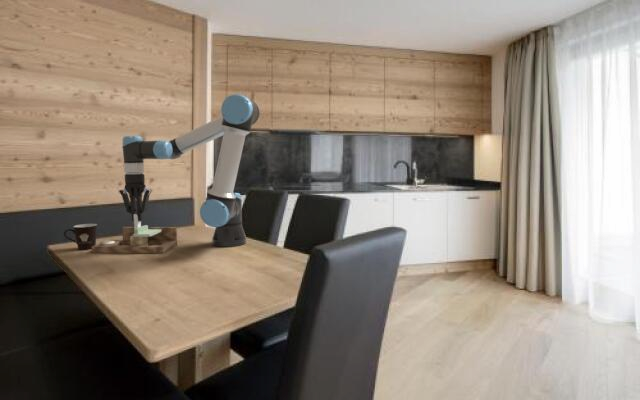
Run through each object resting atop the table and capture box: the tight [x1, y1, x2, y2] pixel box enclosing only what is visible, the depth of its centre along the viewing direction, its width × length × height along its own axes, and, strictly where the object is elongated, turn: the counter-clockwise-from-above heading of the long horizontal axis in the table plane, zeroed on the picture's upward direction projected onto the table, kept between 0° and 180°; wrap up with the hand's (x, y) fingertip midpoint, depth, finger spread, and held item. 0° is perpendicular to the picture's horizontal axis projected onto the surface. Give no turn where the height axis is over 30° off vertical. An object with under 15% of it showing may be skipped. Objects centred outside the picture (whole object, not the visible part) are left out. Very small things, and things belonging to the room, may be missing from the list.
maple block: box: [130, 236, 148, 245], centre depth 166 cm, size 5×5×6 cm
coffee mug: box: [63, 223, 98, 251], centre depth 167 cm, size 12×9×10 cm
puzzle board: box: [91, 226, 178, 254], centre depth 166 cm, size 30×14×8 cm, turn 88°
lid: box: [133, 224, 162, 237], centre depth 165 cm, size 7×11×3 cm, turn 178°
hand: (137, 228), depth 165 cm, fingers closed
